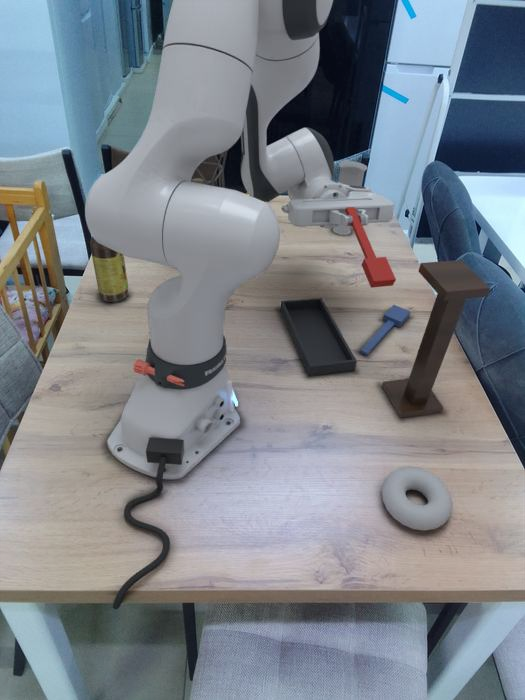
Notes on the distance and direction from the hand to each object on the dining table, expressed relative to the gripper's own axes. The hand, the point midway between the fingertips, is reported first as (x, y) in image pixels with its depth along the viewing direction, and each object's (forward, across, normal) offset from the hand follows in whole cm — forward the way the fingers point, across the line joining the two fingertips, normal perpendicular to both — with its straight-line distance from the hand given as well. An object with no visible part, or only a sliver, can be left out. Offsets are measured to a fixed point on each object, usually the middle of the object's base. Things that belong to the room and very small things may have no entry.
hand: (356, 221), depth 90 cm
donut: (+36, -3, +33) cm, 49 cm away
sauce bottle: (-25, -44, +20) cm, 54 cm away
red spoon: (+5, 0, +4) cm, 6 cm away
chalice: (-46, +18, +15) cm, 52 cm away
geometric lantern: (-38, -24, +18) cm, 48 cm away
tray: (-3, -5, +24) cm, 25 cm away
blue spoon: (-3, +10, +24) cm, 26 cm away
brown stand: (+16, +6, +28) cm, 33 cm away
